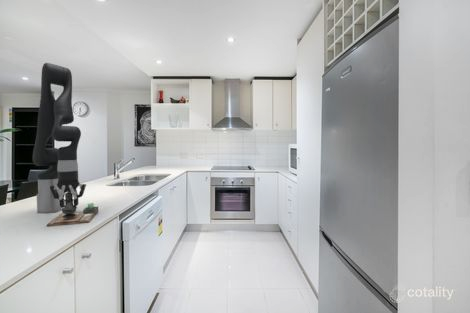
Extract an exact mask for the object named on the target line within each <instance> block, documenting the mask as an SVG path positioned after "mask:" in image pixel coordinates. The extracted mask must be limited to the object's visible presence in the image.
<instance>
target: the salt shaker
mask: <svg viewBox="0 0 470 313" xmlns="http://www.w3.org/2000/svg"><path fill="white" fill-rule="evenodd" d="M64 199H65V200H64V201H65V207H64V208H61V210H60V211H62V212H61V213H64V214H66V215H64V216H63V218H70V217H74V216H76V214H73V213H74V212H75V211H77V208H78V206H76V207H74V197H73V195H72V193H71V192H66V193H65V196H64Z"/></svg>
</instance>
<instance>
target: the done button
mask: <svg viewBox="0 0 470 313" xmlns="http://www.w3.org/2000/svg"><path fill="white" fill-rule="evenodd" d="M87 207H88V209H94V207H95V206H94V203H87Z"/></svg>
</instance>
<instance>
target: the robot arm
mask: <svg viewBox="0 0 470 313" xmlns="http://www.w3.org/2000/svg"><path fill="white" fill-rule="evenodd" d="M72 75H73V74H72V71H71V70H70V68H68V67H65V66H61V65H58V64H53V63H49V62H45V63H43V65H42V67H41V80H40V81H41V83H40V84H41V85H40V86H41V87H40V101H39V108H38V113H37V114H38V115H37V128H36V137H35V143H34V147H33V151H32V162H33V164H34V165H35V166H36V167H47V166H48V167H49V168H47V169H46V170H43V171H41V172H39V173H38V174H37V191H38V192H37V194H36V213H37V214H49V213H55V212H56V213H57V212H59V211H62V210H61V209H63V208H64V207H65V201H64V200H65V194H66V193H67V192H71V193H72V195H73V199H74V200H73V205H74V207H78V205H79V198H81V197H83V196H84V193H85V190H86V187H87V184H85V183H81V182H80V181H79V164H78V147H79V141H80V140H81V137H82V131H81V129H80V128H79V127H78V126H74V125H69V124H72V123H73V122H74V120H75V118H74V112H73V103H72V100H73V76H72ZM51 85H54V86H61V87H63V91H62V92H61V93H60V94H59V95H58V97H57V98H55V97H54V94H53V92H52V86H51ZM51 137H52V139H53V140H54V141H56V142H70V144H69V145H65V146H61V147H59V148H57V147H47V143H48V141H49V140H50V139H51ZM78 187H79V190H80V191H79V193H78V191H77V188H78Z"/></svg>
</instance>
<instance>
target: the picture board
mask: <svg viewBox="0 0 470 313" xmlns="http://www.w3.org/2000/svg"><path fill="white" fill-rule="evenodd" d="M98 212H99V206H94V209H88V206H87V207H85V208H84V209H83V210H81V211H80V210H78V211H77V210H76V211H75V212H74V213H73V214H76V216H74V217H70V218H63V216H64V215H66V214H64V213H63V212H61V213H59V215H57V216H56V217H55V218H53V219H52V220H51V221H50V222H48V223H47V224H46V227H55V226H66V225H76V224H77V225H79V224H89V223H91V221H92V220H93V219H94V217H96V215H97V214H98Z"/></svg>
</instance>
